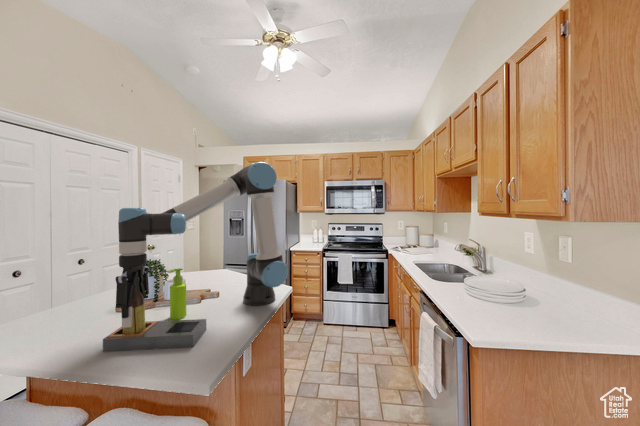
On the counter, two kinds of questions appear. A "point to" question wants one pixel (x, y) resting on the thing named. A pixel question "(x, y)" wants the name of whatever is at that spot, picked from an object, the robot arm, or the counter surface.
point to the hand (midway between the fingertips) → (133, 322)
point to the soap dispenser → (177, 296)
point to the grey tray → (157, 336)
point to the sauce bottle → (136, 311)
